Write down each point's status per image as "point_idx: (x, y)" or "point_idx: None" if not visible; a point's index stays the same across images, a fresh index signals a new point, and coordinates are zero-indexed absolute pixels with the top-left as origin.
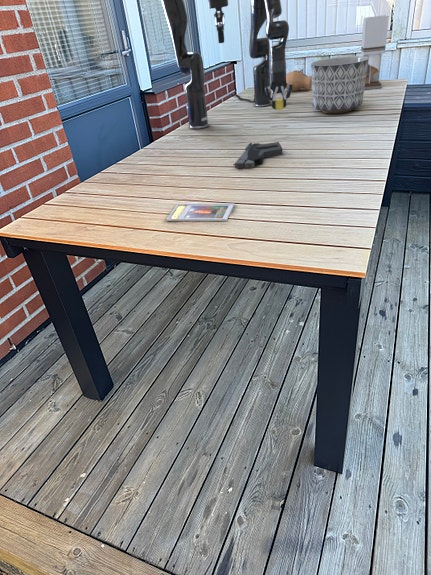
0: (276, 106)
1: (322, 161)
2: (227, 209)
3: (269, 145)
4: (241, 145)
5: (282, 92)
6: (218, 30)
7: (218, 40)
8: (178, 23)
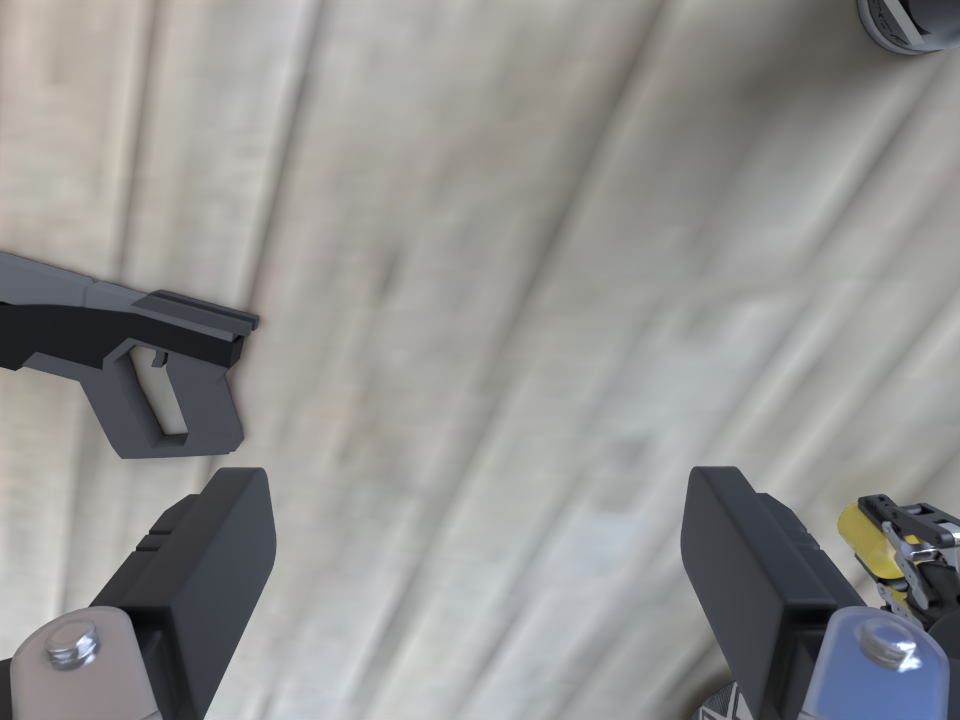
0: (859, 519)
1: (35, 562)
2: None
3: (185, 411)
4: (335, 274)
5: (898, 603)
6: (52, 666)
7: (204, 488)
8: None
